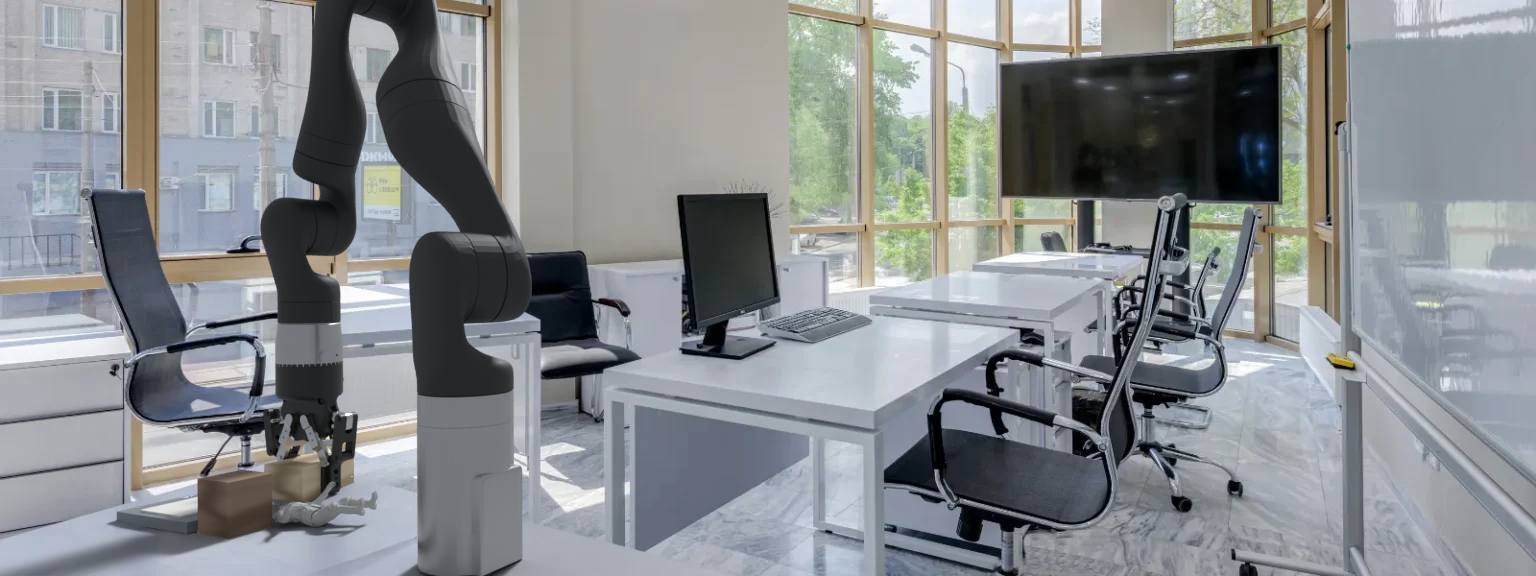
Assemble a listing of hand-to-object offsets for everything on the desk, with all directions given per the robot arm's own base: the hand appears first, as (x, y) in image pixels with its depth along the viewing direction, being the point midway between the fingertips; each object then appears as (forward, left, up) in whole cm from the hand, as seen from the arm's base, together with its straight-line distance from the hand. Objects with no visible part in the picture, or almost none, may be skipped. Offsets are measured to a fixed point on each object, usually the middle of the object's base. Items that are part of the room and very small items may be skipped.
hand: (310, 492), depth 109 cm
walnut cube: (-5, +13, -1) cm, 14 cm away
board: (+5, +11, -1) cm, 12 cm away
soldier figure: (-17, +7, 0) cm, 18 cm away
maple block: (0, 0, -1) cm, 1 cm away
